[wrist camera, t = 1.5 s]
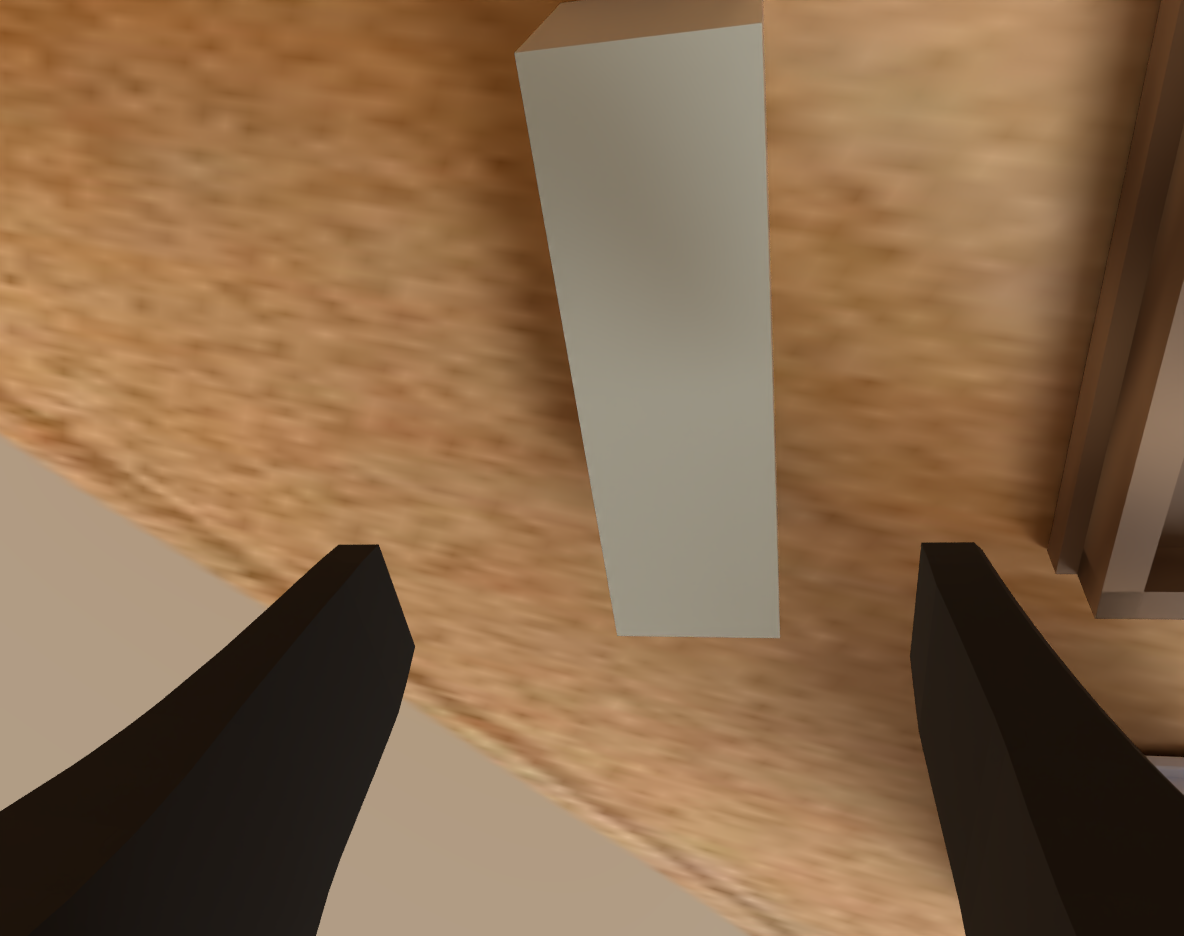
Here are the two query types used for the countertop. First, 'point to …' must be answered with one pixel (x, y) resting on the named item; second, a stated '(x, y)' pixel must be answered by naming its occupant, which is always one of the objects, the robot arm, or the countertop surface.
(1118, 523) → the tray
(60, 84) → the countertop surface
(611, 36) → the grey rectangular block
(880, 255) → the countertop surface
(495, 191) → the countertop surface
